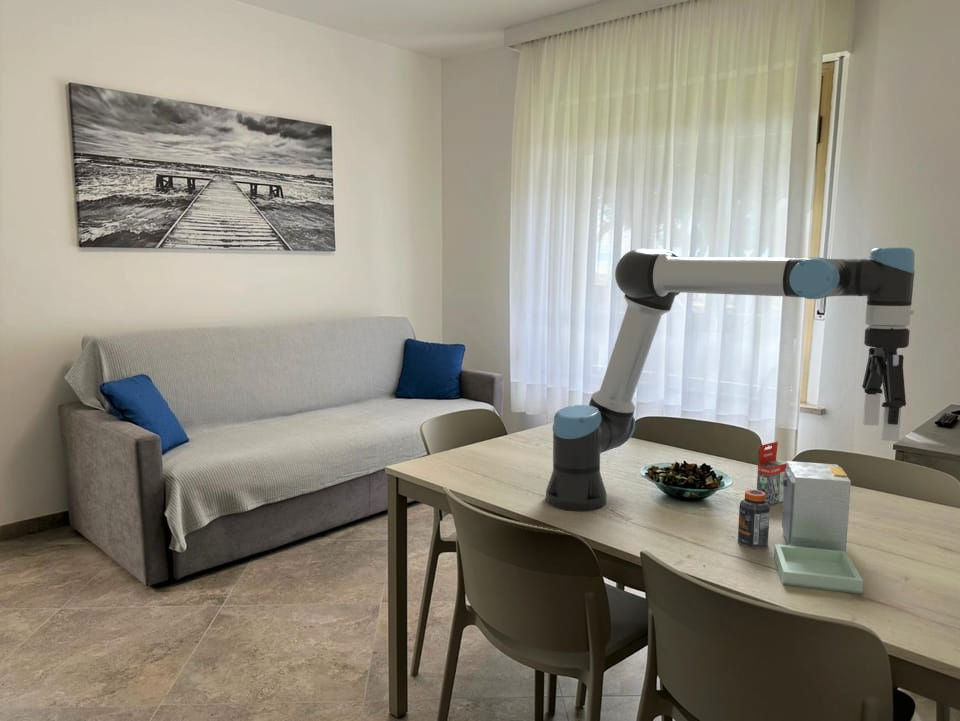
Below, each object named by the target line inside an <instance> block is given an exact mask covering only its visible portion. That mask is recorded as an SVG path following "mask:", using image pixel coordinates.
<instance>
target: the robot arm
mask: <svg viewBox="0 0 960 721" xmlns="http://www.w3.org/2000/svg"><path fill="white" fill-rule="evenodd" d="M614 277H615V282H616V284H617V287H618V288H619V289H620V291H621V292H622V293H624V300H625V301H626V303H627V306H626V307H627V308H626V309H625V313H624V315H623V318H622V321H621V325H620V328H619V330H618V334H617V337H616V339H615V343H614V347H613V350H612V353H611V356H610V358H609V361H608V364H607V367H606V370H605V374H604V376H603V380H602V382H601V385H600V389H599V390H598V391H594V392H593V393H592V395H591V397H590V400H589V403H588V405H587V404H583V405H582V404H577V405H573V406H571V405H569V406H565V407H562V408H560V409H559V410H557V411H556V413H555V414H554V417H553V424H552V432H553V433H552V444H553V445H552V447H553V448H552V453H553V454H552V462H553V463H552V473H551V475H550V478H549V481H548V484H547V487H546V489H545V500H546V503H547V504H549V505H550V506H552V507H554V508H558V509H562V510H566V511H575V512H578V511H579V512H581V511H582V512H583V511H584V512H585V511H593V510H597V509H600V508H602V507H604V506H605V505H607V491H606V488H605V484H604V481H603V478H602V475H601V454H602V453H605V452H607V451H609V450H613V449H616V448H618V447H619V448H620V447H621V446H622V445H624V444H626V443H627V442H628V441H629V440H630V439H631V438H632V436H633V435H634V433H635V429H636V418H635V417H634V413H635V410H636V407H635V405H634V403H633V398H634V396H635V393H636V389H637V386H638V384H639V381H640V378H641V375H642V372H643V370H644V367H645V364H646V361H647V358H648V355H649V352H650V350H651V346H652V343H653V341H654V338H655V335H656V333H657V329H658V326H659V324H660V321H661V318H662V317H663V315H665V314H667V313H668V312H671V309H672V307H673V303H674V301H675V298H676V296H678V295H679V294H680V293H684V294H685V293H687V294H688V293H689V294H712V295H713V294H715V295H736V296H737V295H738V296H739V295H740V296H759V297H760V296H761V297H762V296H764V297H765V296H767V297H769V296H770V297H789V298H804V299H807V300H819V299H823V298H828V297H831V298H832V297H866V300H867V301H866V306H865V307H866V310H865V322H864V323H865V325H866V326H868V327H866V328H865V329H864V339H863V340H864V342H863V343H864V346H866V347H869V348H868V359H867V363H866V367H865V373H864V376H863V377H864V378H863V382H862V385H861V386H862V389H864V390H863V391H864V406H863V420H862V421H863V422H862V425H864V426H879V423H880V410H881V409H880V408H883V411H882V412H883V413H882V426H881V427H882V428H881V440H882V441H887V442H888V441H889V442H899V441H900V440H899V439H900V438H899V437H900V426H901V425H900V424H901V414H902V407H906V406H907V402H906V390H905V389H906V388H905V386H906V385H905V378H904V376H905V374H904V355H903V354H898V349H905V348H908V347H909V345H910V344H909V343H910V329H909V328H906V327H908V326H910V325H911V316H912V315H914V313H915V311H914V310H913V309H912V303H913V294H914V293H913V291H914V280H915V252H914V250H913V249H911V248H910V247H879V248H876V247H875V248H873V249H871V250H870V254H869V255H868V257H865V258H824V257H808V258H807V257H805V258H802V257H794V258H790V257H685V256H684V257H681V256H680V255H679V254H678V253H677V252H674V251H672V250H669V249H664V248H658V249H657V248H655V249H654V248H636V249H632V250H630V251H628V252H626V253H625V254H624V255H623V256H622V257H621V258H620V259H619V261H618V263H617V265H616V267H615V272H614ZM882 387H883V388H882ZM881 394H882V395H884V401H885V402H884V401H883V402H882V404H881Z"/></svg>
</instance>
